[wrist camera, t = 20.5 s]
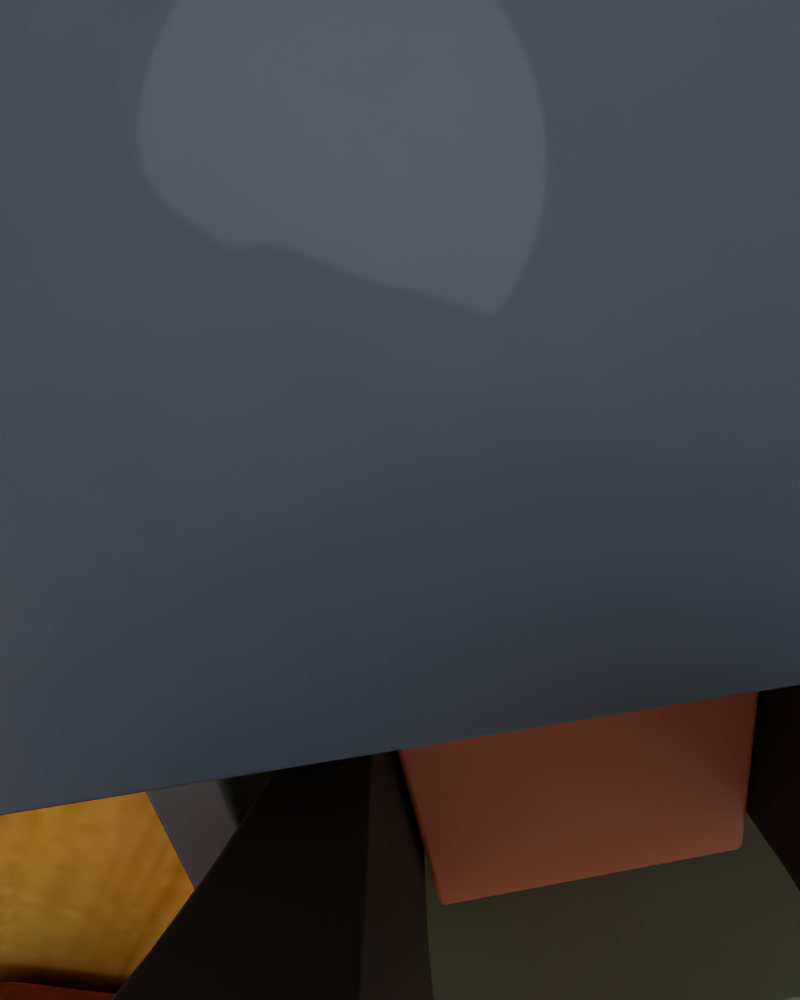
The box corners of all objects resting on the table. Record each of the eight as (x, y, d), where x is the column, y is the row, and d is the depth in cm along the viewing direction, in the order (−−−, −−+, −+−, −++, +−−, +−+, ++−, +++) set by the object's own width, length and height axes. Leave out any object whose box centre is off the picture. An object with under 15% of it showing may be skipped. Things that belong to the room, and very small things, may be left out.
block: (412, 687, 11) (439, 909, 8) (367, 504, 9) (376, 679, 6) (617, 646, 11) (744, 851, 7) (611, 455, 9) (772, 601, 6)
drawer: (710, 837, 16) (889, 1146, 10) (330, 899, 16) (317, 1239, 10) (819, 59, 8) (1656, -238, 3) (87, 178, 8) (-396, 98, 3)
